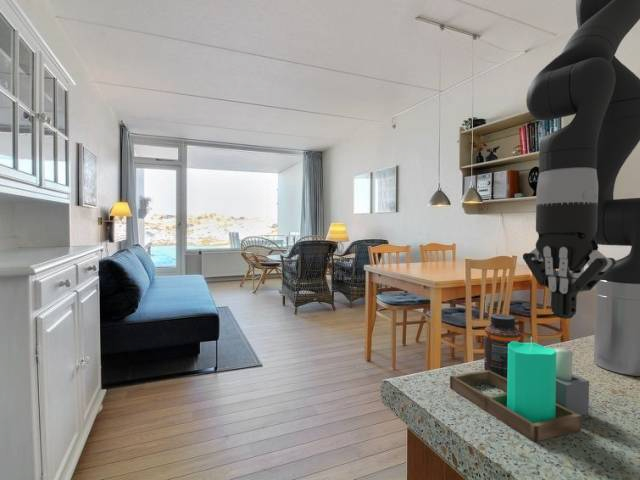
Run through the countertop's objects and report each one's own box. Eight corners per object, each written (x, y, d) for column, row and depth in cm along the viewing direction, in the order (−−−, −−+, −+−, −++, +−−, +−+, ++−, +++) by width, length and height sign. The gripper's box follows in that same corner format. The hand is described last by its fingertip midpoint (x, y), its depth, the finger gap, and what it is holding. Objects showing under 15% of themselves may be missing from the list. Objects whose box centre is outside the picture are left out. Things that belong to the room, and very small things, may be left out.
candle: (564, 433, 46) (565, 345, 46) (515, 429, 47) (516, 342, 47) (543, 410, 52) (544, 331, 52) (500, 407, 53) (501, 330, 53)
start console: (558, 399, 56) (558, 368, 55) (588, 414, 51) (589, 380, 51) (536, 404, 54) (537, 372, 54) (565, 419, 50) (566, 385, 50)
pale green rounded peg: (560, 385, 54) (561, 347, 54) (575, 391, 52) (576, 352, 52) (549, 387, 53) (550, 348, 53) (564, 394, 51) (564, 354, 51)
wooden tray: (488, 380, 63) (488, 369, 62) (580, 429, 47) (581, 415, 47) (449, 387, 60) (450, 376, 60) (534, 442, 45) (534, 426, 44)
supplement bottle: (525, 384, 61) (526, 321, 61) (489, 382, 62) (489, 319, 62) (513, 371, 67) (514, 313, 66) (480, 368, 68) (481, 311, 68)
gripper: (634, 199, 47) (630, 326, 47) (543, 205, 59) (541, 306, 60) (595, 197, 44) (592, 331, 45) (509, 204, 57) (507, 309, 57)
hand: (562, 317), depth 52 cm, fingers closed
